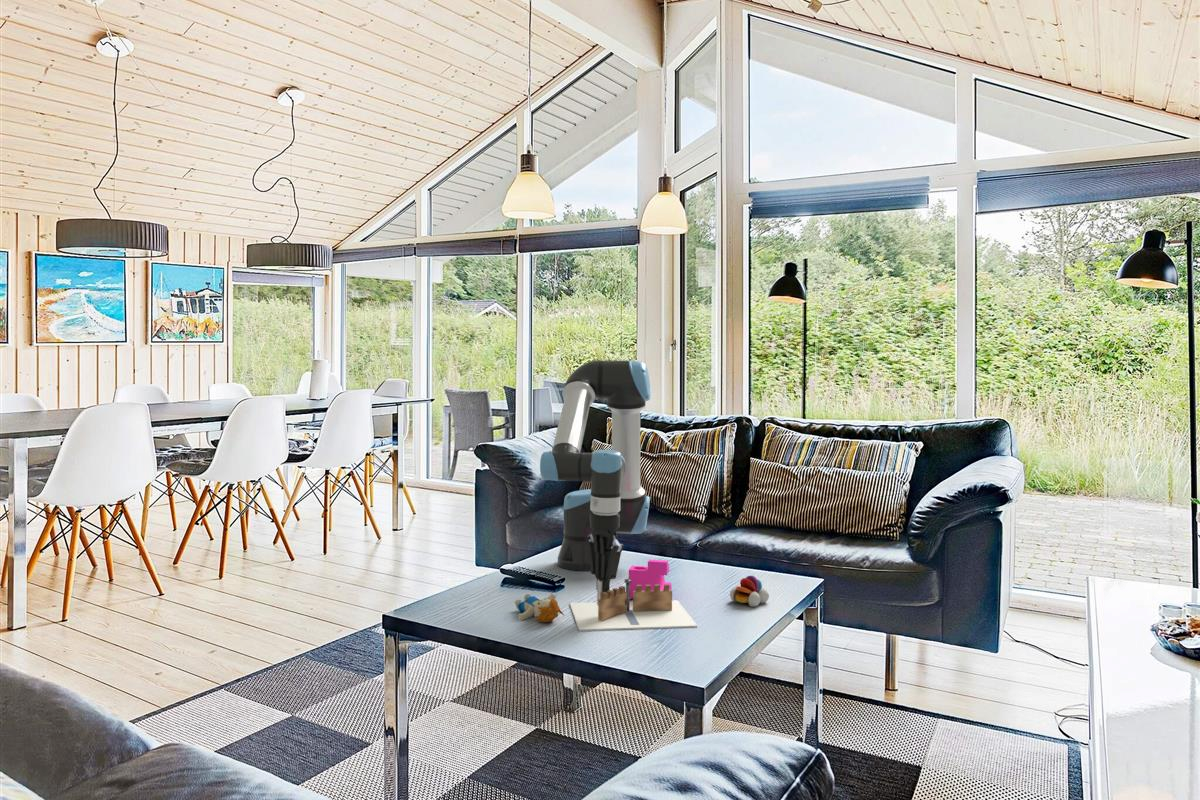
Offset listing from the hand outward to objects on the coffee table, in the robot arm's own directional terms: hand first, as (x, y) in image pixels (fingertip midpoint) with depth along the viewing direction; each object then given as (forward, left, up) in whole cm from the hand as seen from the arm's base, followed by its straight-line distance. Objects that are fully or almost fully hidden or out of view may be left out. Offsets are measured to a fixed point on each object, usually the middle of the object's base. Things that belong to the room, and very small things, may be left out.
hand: (602, 604), depth 215 cm
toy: (-1, -16, -4) cm, 17 cm away
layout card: (0, +7, -3) cm, 8 cm away
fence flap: (+1, +3, -2) cm, 4 cm away
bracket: (-18, +16, -3) cm, 24 cm away
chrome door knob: (-3, +7, -3) cm, 8 cm away
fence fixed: (-3, +13, -3) cm, 14 cm away
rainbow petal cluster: (-8, +41, -4) cm, 42 cm away
